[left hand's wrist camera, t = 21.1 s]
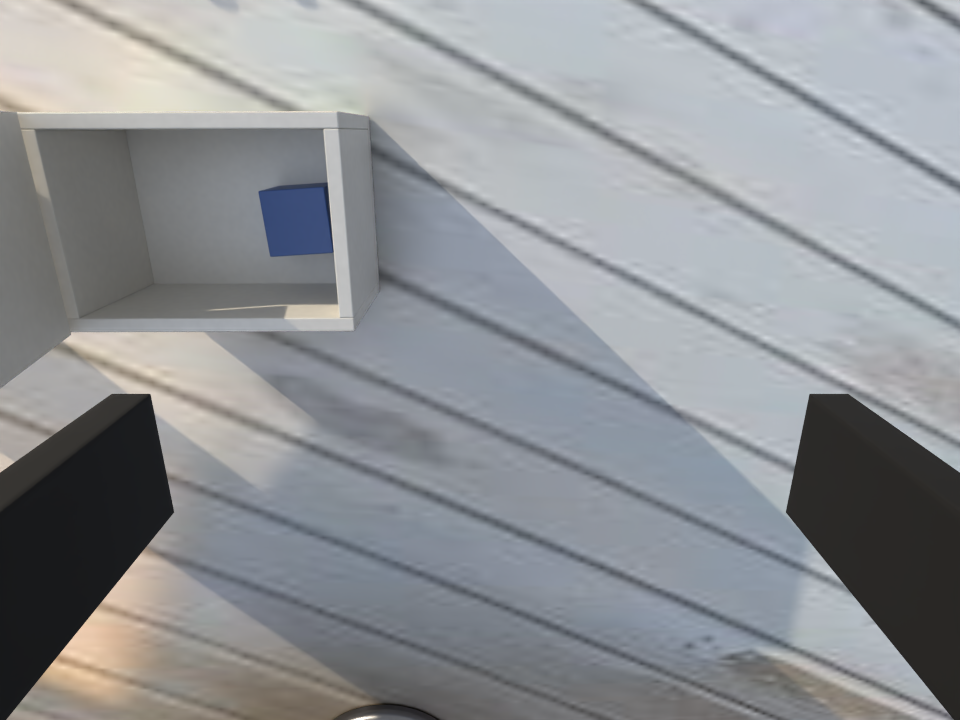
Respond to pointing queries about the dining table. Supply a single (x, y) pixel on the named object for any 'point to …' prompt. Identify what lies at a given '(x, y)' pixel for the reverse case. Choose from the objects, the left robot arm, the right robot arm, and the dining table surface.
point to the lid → (24, 263)
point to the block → (297, 219)
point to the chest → (201, 218)
